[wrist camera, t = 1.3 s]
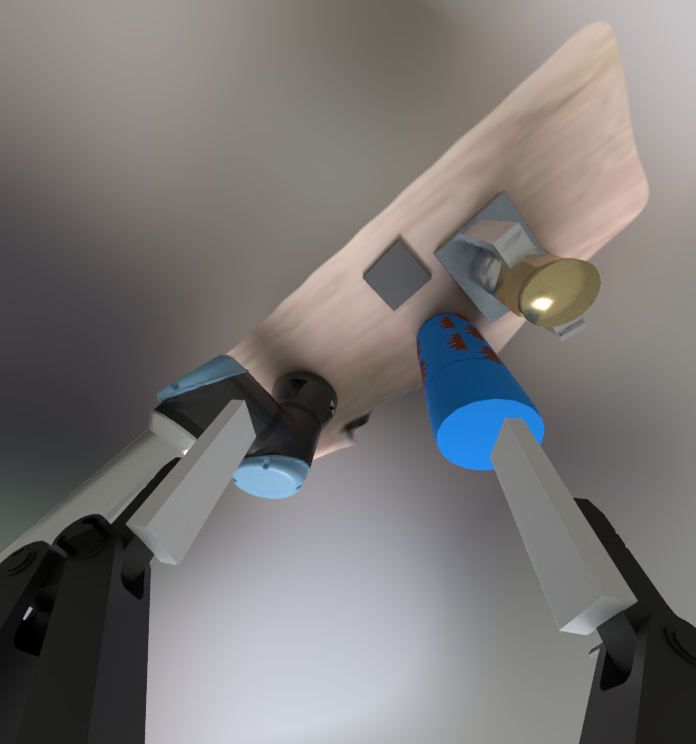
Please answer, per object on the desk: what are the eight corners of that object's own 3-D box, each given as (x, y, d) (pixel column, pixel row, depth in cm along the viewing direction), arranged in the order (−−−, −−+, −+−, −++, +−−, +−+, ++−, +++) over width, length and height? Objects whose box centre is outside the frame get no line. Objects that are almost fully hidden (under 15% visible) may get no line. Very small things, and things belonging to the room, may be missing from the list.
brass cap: (570, 287, 32) (626, 310, 24) (514, 324, 35) (548, 354, 28) (525, 217, 29) (573, 219, 21) (468, 265, 32) (493, 281, 25)
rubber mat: (393, 309, 46) (394, 311, 46) (363, 276, 44) (362, 277, 43) (430, 276, 43) (431, 278, 42) (398, 239, 41) (399, 240, 40)
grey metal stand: (487, 319, 45) (527, 363, 32) (433, 253, 41) (454, 272, 28) (552, 273, 40) (633, 302, 27) (499, 192, 36) (563, 179, 22)
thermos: (446, 373, 52) (485, 483, 31) (404, 346, 50) (414, 442, 29) (489, 333, 46) (572, 432, 25) (443, 300, 44) (491, 378, 23)
